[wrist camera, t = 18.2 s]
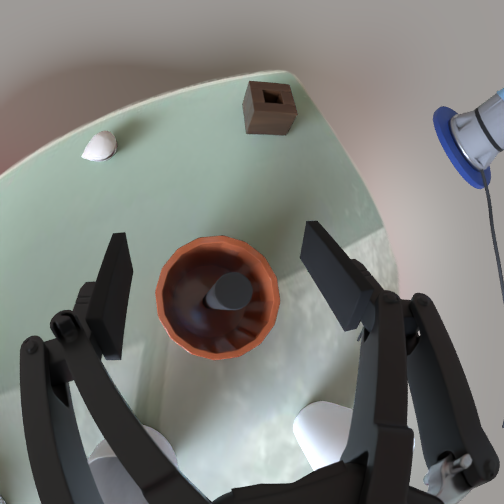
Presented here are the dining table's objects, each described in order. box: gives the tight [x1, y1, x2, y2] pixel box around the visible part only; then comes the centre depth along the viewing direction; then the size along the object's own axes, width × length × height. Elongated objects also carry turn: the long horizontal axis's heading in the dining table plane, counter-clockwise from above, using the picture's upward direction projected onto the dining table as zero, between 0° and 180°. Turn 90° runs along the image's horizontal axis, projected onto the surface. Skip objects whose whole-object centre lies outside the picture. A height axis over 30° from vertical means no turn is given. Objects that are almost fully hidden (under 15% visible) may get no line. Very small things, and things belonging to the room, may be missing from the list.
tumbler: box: [155, 235, 280, 360], centre depth 24 cm, size 9×9×11 cm
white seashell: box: [82, 131, 117, 161], centre depth 28 cm, size 4×5×2 cm
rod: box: [203, 272, 253, 310], centre depth 20 cm, size 2×2×18 cm
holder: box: [242, 81, 298, 135], centre depth 33 cm, size 6×6×5 cm
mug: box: [87, 425, 179, 504], centre depth 18 cm, size 13×9×10 cm
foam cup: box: [293, 401, 415, 471], centre depth 22 cm, size 10×9×13 cm
